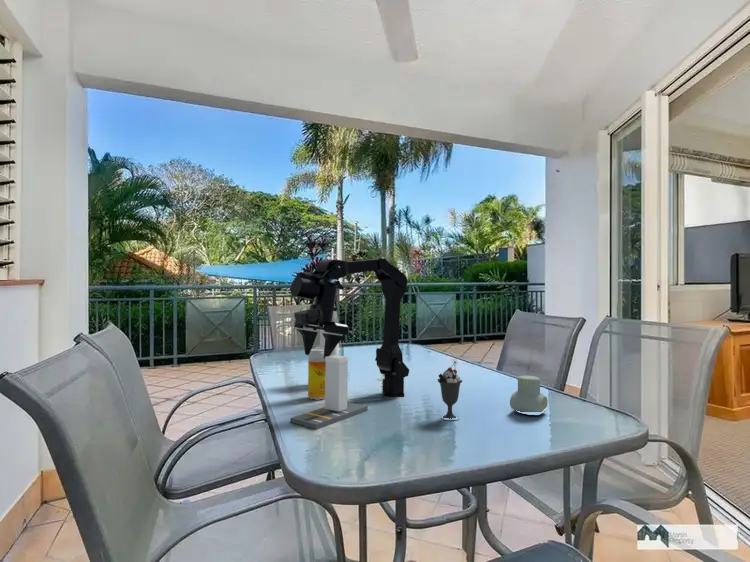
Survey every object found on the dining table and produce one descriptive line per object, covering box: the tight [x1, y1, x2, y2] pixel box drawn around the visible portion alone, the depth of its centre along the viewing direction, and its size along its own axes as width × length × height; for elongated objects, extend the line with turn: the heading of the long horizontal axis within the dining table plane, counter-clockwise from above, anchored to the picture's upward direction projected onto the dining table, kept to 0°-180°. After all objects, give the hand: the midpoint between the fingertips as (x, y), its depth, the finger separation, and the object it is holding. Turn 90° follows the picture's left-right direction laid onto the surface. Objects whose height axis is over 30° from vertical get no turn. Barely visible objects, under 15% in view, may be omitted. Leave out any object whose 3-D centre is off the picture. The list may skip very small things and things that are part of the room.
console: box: [289, 401, 369, 430], centre depth 118 cm, size 21×9×1 cm, turn 145°
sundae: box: [437, 361, 463, 419], centre depth 118 cm, size 7×7×15 cm
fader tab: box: [324, 355, 349, 412], centre depth 120 cm, size 4×5×14 cm
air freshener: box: [509, 375, 548, 412], centre depth 123 cm, size 11×8×10 cm
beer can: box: [307, 348, 326, 401], centre depth 138 cm, size 6×6×15 cm
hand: (316, 356), depth 125 cm, fingers open, 9 cm apart
